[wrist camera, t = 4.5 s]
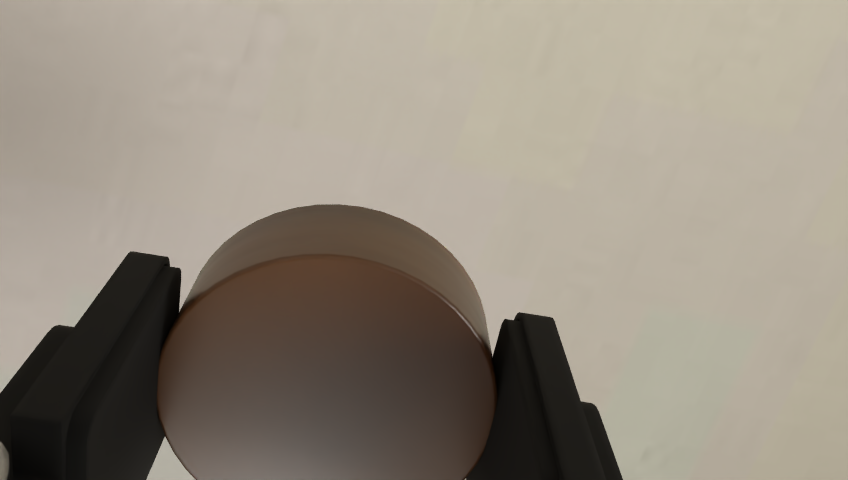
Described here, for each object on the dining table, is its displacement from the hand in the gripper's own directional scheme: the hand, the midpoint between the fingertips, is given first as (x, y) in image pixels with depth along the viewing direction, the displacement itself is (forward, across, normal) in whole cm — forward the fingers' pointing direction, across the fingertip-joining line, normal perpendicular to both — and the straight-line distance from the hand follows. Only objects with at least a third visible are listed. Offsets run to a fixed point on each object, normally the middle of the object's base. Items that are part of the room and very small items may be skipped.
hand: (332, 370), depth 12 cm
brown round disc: (+1, 0, 0) cm, 1 cm away
